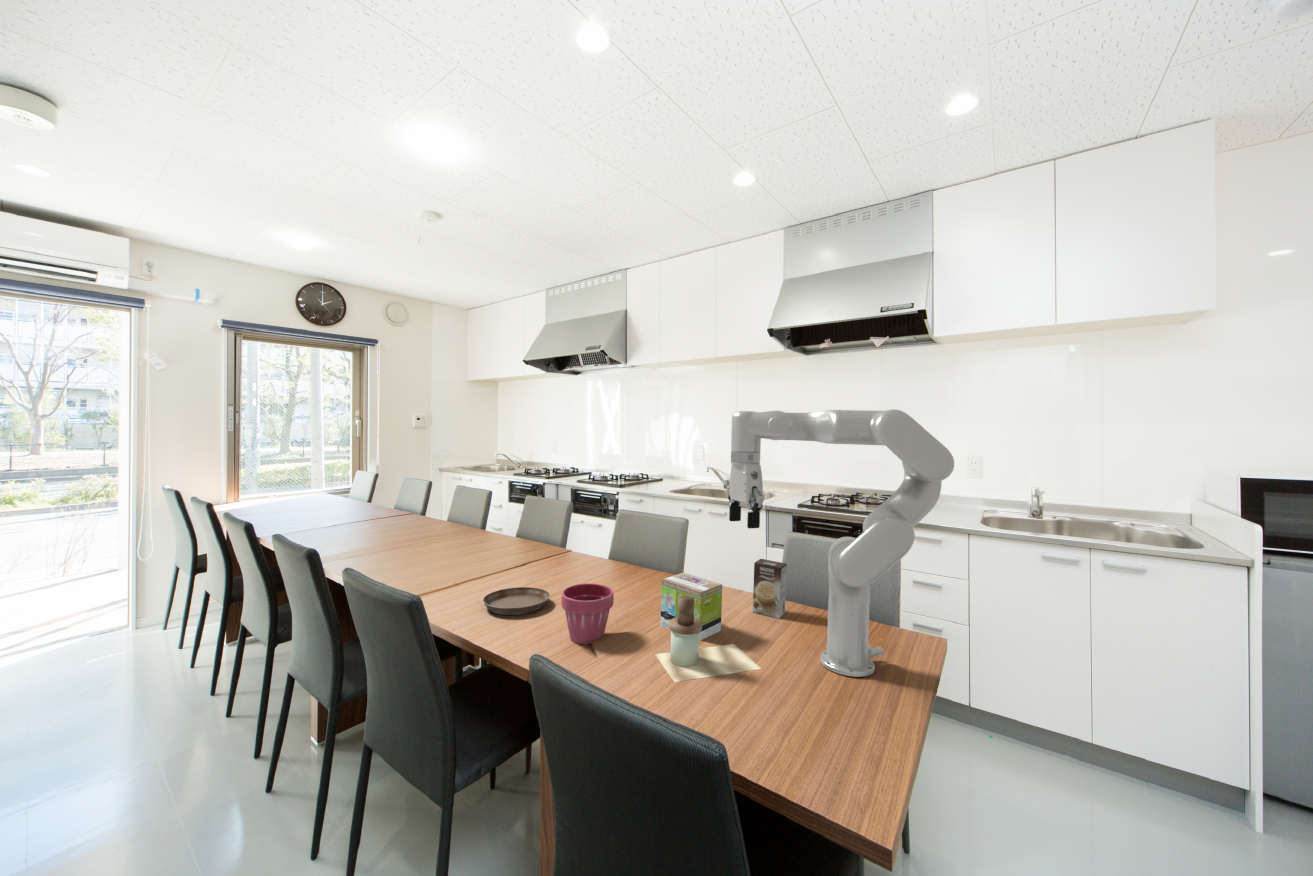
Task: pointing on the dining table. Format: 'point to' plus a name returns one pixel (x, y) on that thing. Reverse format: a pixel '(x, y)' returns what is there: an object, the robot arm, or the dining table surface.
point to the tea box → (704, 601)
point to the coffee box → (769, 588)
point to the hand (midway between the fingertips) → (743, 524)
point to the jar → (684, 649)
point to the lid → (685, 618)
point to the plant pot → (587, 610)
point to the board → (710, 663)
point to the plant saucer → (516, 600)
